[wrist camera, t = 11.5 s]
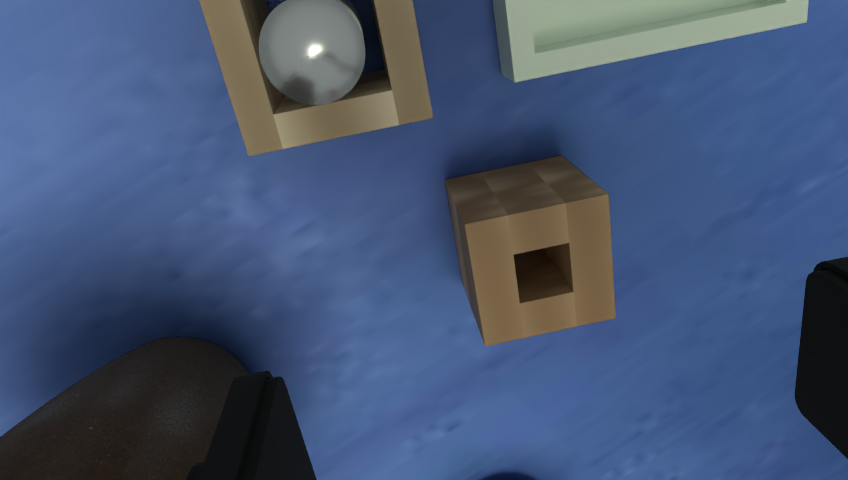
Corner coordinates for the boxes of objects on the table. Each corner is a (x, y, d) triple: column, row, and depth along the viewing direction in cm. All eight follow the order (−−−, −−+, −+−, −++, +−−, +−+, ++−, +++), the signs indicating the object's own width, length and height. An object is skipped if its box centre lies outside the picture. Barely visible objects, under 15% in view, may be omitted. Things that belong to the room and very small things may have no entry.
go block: (387, -76, 25) (395, -94, 19) (417, 91, 27) (433, 118, 22) (222, -43, 24) (182, -52, 19) (270, 122, 27) (248, 156, 22)
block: (561, 155, 29) (608, 194, 24) (571, 261, 32) (615, 318, 26) (444, 179, 29) (464, 224, 24) (462, 284, 32) (484, 346, 26)
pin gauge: (353, -15, 25) (352, -15, 16) (368, 56, 27) (375, 93, 17) (285, -1, 25) (244, 6, 16) (303, 69, 27) (275, 113, 17)
